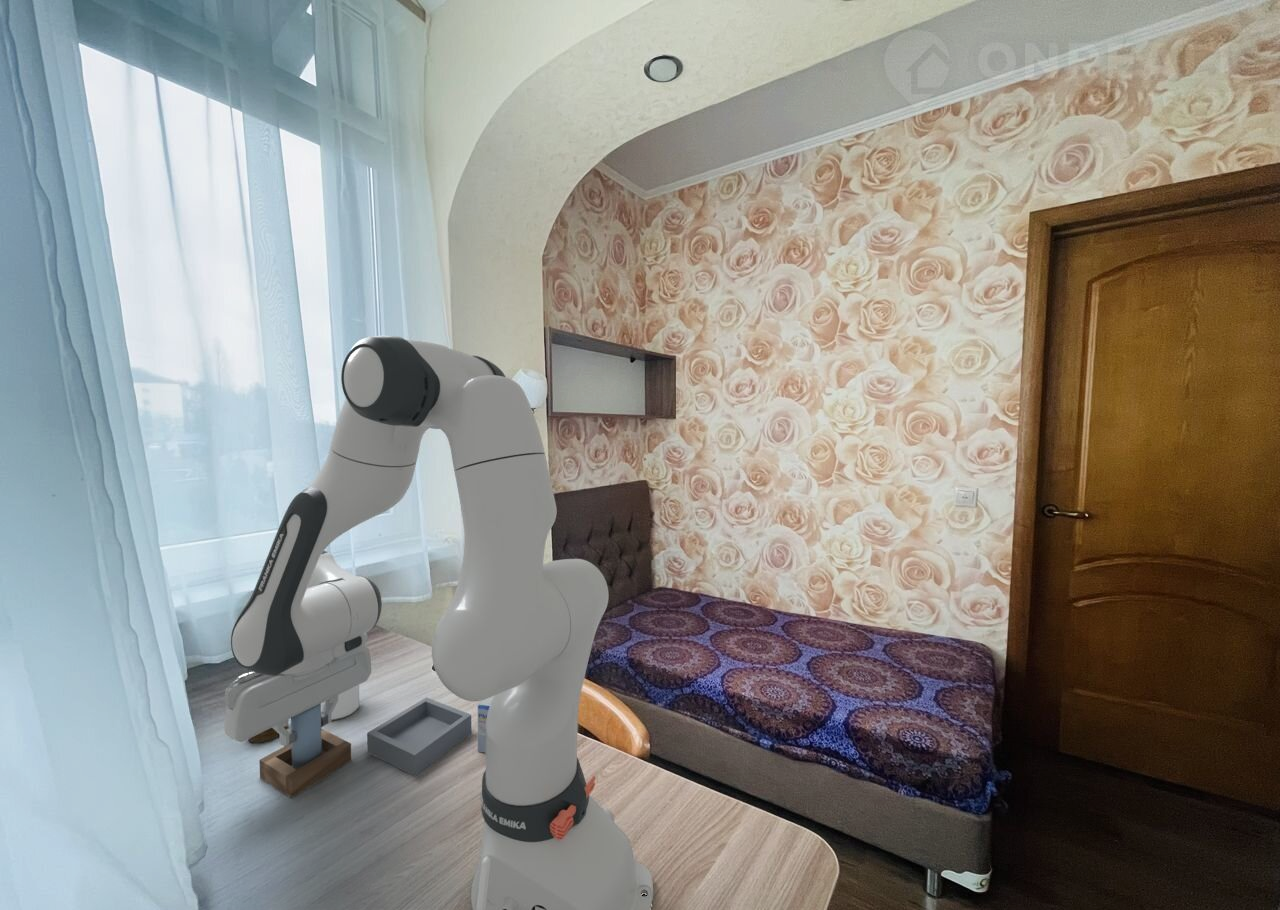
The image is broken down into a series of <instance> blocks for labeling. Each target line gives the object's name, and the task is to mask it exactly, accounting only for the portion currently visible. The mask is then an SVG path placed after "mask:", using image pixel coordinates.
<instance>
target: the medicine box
mask: <svg viewBox="0 0 1280 910" xmlns="http://www.w3.org/2000/svg"><path fill="white" fill-rule="evenodd" d="M494 697H495V696H492V697H490V698H487V699H484V700H482V701H480V703H478V705H477V752H478V753H482V752H484V753H483V754H486V718H487V713H488V710H489V707H490V705H491V702H492V700H493V698H494Z"/></svg>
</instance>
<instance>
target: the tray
mask: <svg viewBox="0 0 1280 910" xmlns="http://www.w3.org/2000/svg"><path fill="white" fill-rule="evenodd" d="M470 734H472V714H470V713H468V712H466V711H463V710H460V709H457V708H455V707H452V706H449V705H447V704H445V703H442V702H440V701H437V700H434V699H432V698H429V697H427V696H426V697H424V698H423V699H422V700H419V701H418V702H416V703H414V704H413V705H411V706H410V707H408V708H406V709H405V710H403V711H402V712H399V713H398V714H396V715H395V716H393V717H391V718H389V719H387V720H386V721H385V722H383V723H381V724H380V725H378V726H377V727H375V728H373V729H371V730H369V731H367V733H366V736H367V737H366V738H367V739H366V741H367V742H366V743H367V745H366V746H367V750H366V751H367V754H370V755H372V756H374V757H375V758H378V759H379V760H382V761H384V762H385V763H388V764H390V765H392V766H394V767H396V768H398V769H400V770H402V771H404V772H406V773H407V774H410V775H412V776H414V777H415V776H416V775H418V774H419V773H421V772H422V771H423V770H424V769H426V768H427V767H429V766H430V765H431V764H433V763H434V762H435V761H437V760H438V759H439V758H440V757H442V756H443V755H444V754H445V753H447V752H448V751H450V750H451V749H452V748H454V747H455V746H456V745H458V744H459V743H460V742H462V741H463V740H464V739H465V738H467V737H468V736H470Z"/></svg>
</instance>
